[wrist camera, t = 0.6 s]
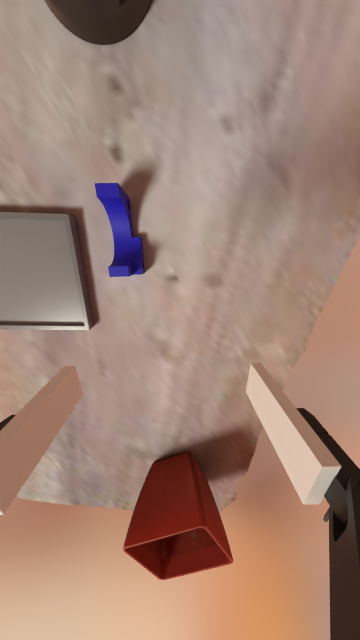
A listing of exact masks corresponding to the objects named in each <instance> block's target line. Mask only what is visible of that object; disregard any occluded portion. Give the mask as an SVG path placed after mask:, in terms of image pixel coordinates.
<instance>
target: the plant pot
mask: <svg viewBox="0 0 360 640" xmlns="http://www.w3.org/2000/svg"><path fill="white" fill-rule="evenodd" d="M123 551H124V552H125V553H127V554H128V555H129V556H131V557H132V558H133V559H134V560H136V561H137V562H138V563H139V564H141V565H142V566H143V567H144V568H146V569H147V570H148V571H149V572H151V573H152V574H153V575H155V576H156V577H157V578H158V579H161V580H166V579H170V578H175V577H179V576H183V575H187V574H191V573H195V572H199V571H203V570H208V569H211V568H216V567H220V566H224V565H228V564H231V563H232V562H233V558H232V554H231V551H230V547H229V543H228V540H227V536H226V533H225V530H224V526H223V524H222V520H221V517H220V514H219V511H218V508H217V505H216V503H215V500H214V497H213V495H212V492H211V489H210V487H209V484H208V482H207V479H206V477H205V475H204V473H203V471H202V470H201V468H200V466H199V465H198V463H197V462H196V460H195V459H194V457H193V456H192V454H191V453H190V452H185V453H182V454H179V455H176V456H173V457H170V458H167V459H164V460H161V461H158V462H155V463H153V464H152V466H151V468H150V470H149V472H148V475H147V477H146V479H145V482H144V484H143V487H142V489H141V492H140V494H139V497H138V500H137V503H136V506H135V509H134V512H133V515H132V518H131V522H130V525H129V528H128V532H127V536H126V539H125V543H124V547H123Z"/></svg>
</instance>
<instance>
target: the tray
mask: <svg viewBox="0 0 360 640" xmlns="http://www.w3.org/2000/svg"><path fill="white" fill-rule="evenodd" d="M93 326H94V324H93V318H92V312H91V307H90V301H89V295H88V289H87V283H86V277H85V271H84V265H83V259H82V253H81V247H80V241H79V235H78V229H77V224H76V218H75V217H74V216H72V215H69V214H51V213H21V212H0V329H38V330H90V329H91V328H92V327H93Z"/></svg>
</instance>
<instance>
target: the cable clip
mask: <svg viewBox="0 0 360 640" xmlns="http://www.w3.org/2000/svg"><path fill="white" fill-rule="evenodd" d="M95 188H96V194H97V197H98V198H99V199H100V201H101V202H102V204H103V205H104V207H105V209H106V212H107V214H108V217H109V220H110V223H111V227H112V231H113V237H114V259H113V262H112V264H111V266H109V267H108V269H109V275H110V277H120V276H131V275H133V274H144V273H145V270H144V258H143V247H142V238H141V237H133V232H132V222H131V213H130V203H129V197H128V196H127V195H126V193H125V192H124V191H123V189H122V188H121V187H120V186H119V184H118V183H95Z"/></svg>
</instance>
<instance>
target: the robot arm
mask: <svg viewBox="0 0 360 640" xmlns="http://www.w3.org/2000/svg"><path fill="white" fill-rule="evenodd" d="M45 2H46V4H47V5H48V7H49V8H50V10H51V11H52V13H53V14H54V15H55V16H56V18H57V19H58V20H59V21H60V22H61V23H62V24H63V25H64V26H65V27H66V28H67V29H68V30H69V31H70V32H72V33H73V34H74V35H76V36H77V37H79V38H81V39H83V40H85V41H87V42H90V43H94V44H99V45H107V44H113V43H116V42H119V41H121V40H123V39H124V38H126V37H127V36H128V35H130V34H131V33H132V32H133V31H134V30H135V29H136V28H137V26H138V25H139V24H140V22H141V20H142V19H143V17H144V15H145V13H146V11H147V9H148V7H149V4H150V2H151V0H45ZM246 393H247V395H248V397H249V399H250V401H251V403H252V405H253V407H254V409H255V411H256V413H257V415H258V417H259V419H260V421H261V423H262V425H263V427H264V428H265V430H266V432H267V434H268V436H269V438H270V440H271V442H272V444H273V446H274V448H275V450H276V452H277V454H278V456H279V458H280V460H281V462H282V464H283V466H284V468H285V470H286V471H287V473H288V475H289V477H290V479H291V481H292V483H293V485H294V487H295V489H296V491H297V493H298V495H299V497H300V499H301V501H302V503H303V504H320V503H321V501H322V500H323V498H324V497H325V498H326V500H327V502H328V503H329V505H330V507H329V509H328V511H327V512H326V514H325V516H324V521H325V522H327V521H328V520H329V554H330V555H329V559H330V630H331V631H330V634H331V640H360V469H359V468H358V467H357V466H356V465H355V464H354V462H353V461H352V460H351V459H350V458H349V457H348V455H347V454H346V453H345V452H344V451H343V450H342V449H341V447H340V446H339V445H338V444H337V443H336V441H335V440H334V439H333V438H332V437H331V436H330V435H329V434H328V432H327V431H326V430H325V429H324V428H323V427H322V425H321V424H320V423H319V421H318V420H317V419H316V418H315V417H314V416H313V415H312V414H310V413H309V412H308V411H307V410H305V409H304V408H295V406H294V405H293V404H292V403H291V401H290V400H289V398H288V397H287V396H286V395H285V393H284V392H283V391H282V390H281V388H280V387H279V386H278V384H277V383H276V382H275V381H274V379H273V378H272V377H271V375H270V374H269V373H268V372H267V370H266V369H265V368H264V367H263V365H262V364H261V363H251V366H250V372H249V377H248V383H247V388H246ZM82 395H83V393H82V390H81V386H80V383H79V379H78V375H77V372H76V368H75V366H64V367H63V368H62V369H61V370H60V371H59V372H58V373H57V374H56V375H55V376H54V377H53V378H52V379H51V380H50V381H49V382H48V383H47V384H46V385H45V386H44V387H43V388H42V389H41V390H40V391H39V392H38V393H37V394H36V395H35V396H34V397H33V398H32V399H31V400H30V401H29V402H28V403H27V404H26V405H25V406H24V408H23V409H22V410H21V411H20V412H19V413H18V414H17V415H11V416H9V417H8V418H6V419H5V420H4V421H2V422H1V423H0V515H4V513H5V512H6V511H7V509H8V507H9V506H10V504H11V503H12V501H13V500H14V498H15V497H16V495H17V494H18V492H19V491H20V489H21V488H22V486H23V485H24V483H25V482H26V480H27V479H28V477H29V476H30V474H31V473H32V471H33V470H34V468H35V467H36V465H37V464H38V462H39V460H40V459H41V457H42V456H43V454H44V453H45V451H46V450H47V448H48V447H49V445H50V444H51V442H52V441H53V439H54V438H55V436H56V435H57V433H58V432H59V430H60V429H61V427H62V426H63V424H64V423H65V421H66V420H67V418H68V417H69V415H70V413H71V412H72V410H73V409H74V407H75V406H76V404H77V403H78V401H79V400H80V398H81V397H82Z"/></svg>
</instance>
